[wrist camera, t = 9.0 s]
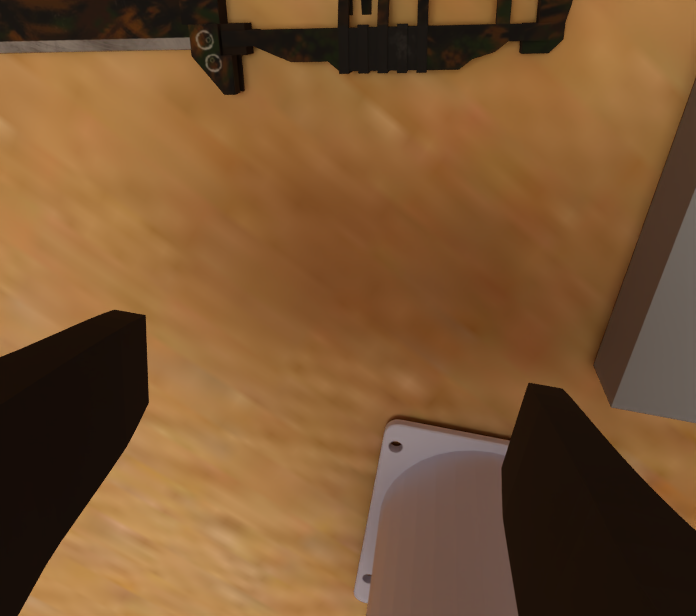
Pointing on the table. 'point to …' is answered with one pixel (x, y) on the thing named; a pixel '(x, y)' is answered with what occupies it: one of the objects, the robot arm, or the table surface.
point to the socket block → (659, 298)
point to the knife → (268, 35)
